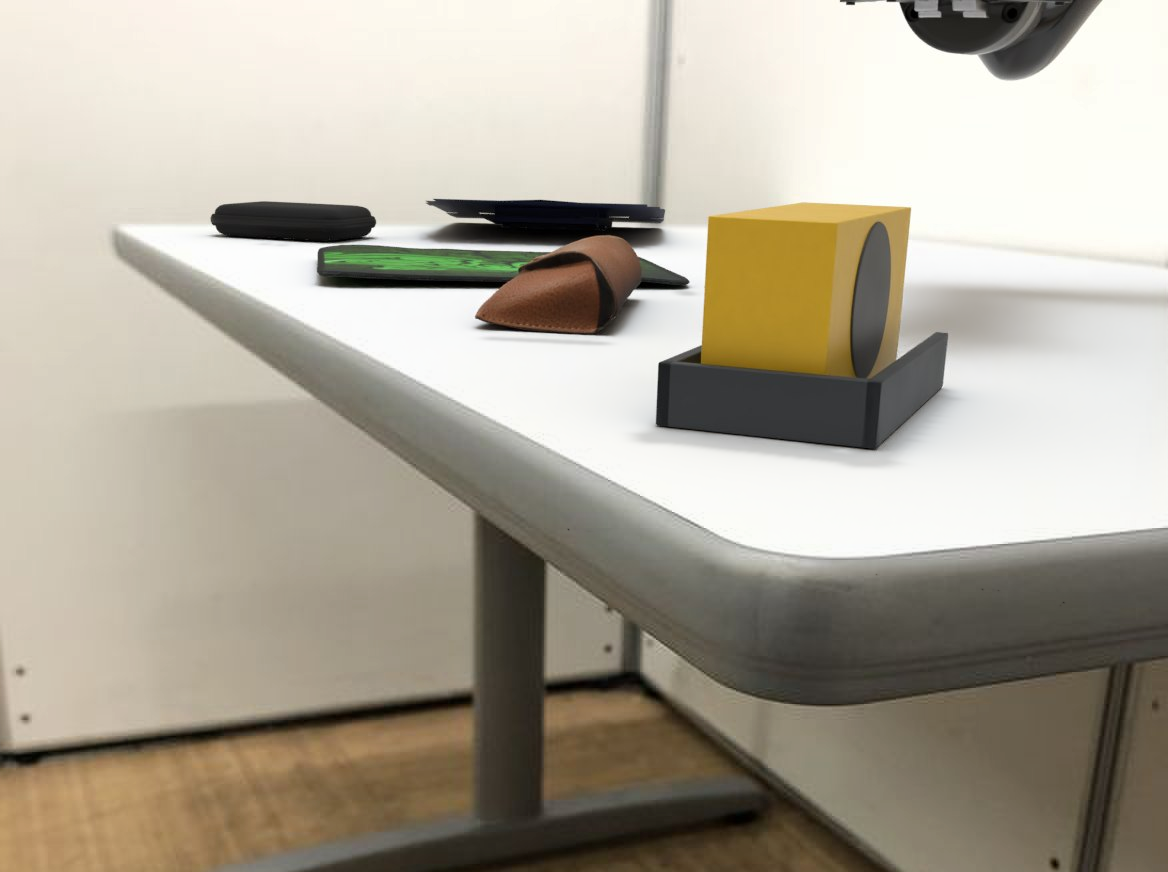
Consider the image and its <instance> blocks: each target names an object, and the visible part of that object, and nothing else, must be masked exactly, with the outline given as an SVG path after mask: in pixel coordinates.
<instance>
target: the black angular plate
mask: <svg viewBox="0 0 1168 872" xmlns="http://www.w3.org/2000/svg"><path fill="white" fill-rule="evenodd" d="M425 204H427V205H428V206H430V207H432V206H433V207H435V208H436V209H438V210H440V211H443V212H445V213H446V214H447V215H449V216H450V217H453V218H455V219H484V220H486V221H488V222H490V223H493V224H495V225H501V228H505V229H530V230H531V229H533V230H535V229H538V230H539V229H540V230H570V231H571V230H573V231H577V230H578V231H602V232H603V231H607V228H613V223H631V224H633V223H634V224H635V223H636V224H661V223H663V222H664V220H665V213H666V209H665V208H661V207H660V206H648V204H645V203H644V204H642V203H641V204H640V203H607V202H606V203H603V202H576V201H563V200H553V199H552V200H551V199H550V200H549V199H514V200H513V199H511V200H509V199H508V200H497V199H496V200H493V199H458V198H457V199H454V198H432V200H425ZM571 239H573V236H572V237H571Z"/></svg>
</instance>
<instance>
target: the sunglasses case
mask: <svg viewBox="0 0 1168 872" xmlns="http://www.w3.org/2000/svg"><path fill="white" fill-rule="evenodd" d="M550 252H551V253H548V254H546V255H542V256H539V257H535V258H534V259H533V260H532V261H530V262H529V263H526V264H525V265H523V266H520V267H519V268H518V272H519V274H518V276H516V277H515V278H513V279H512V280H510V281H508V282H505V284H502V286H501V287H500V288H499V289H497V290H496V291H495V292H494V293H493V294H492V295H491V296H490V297H488V299H487V300H485V302H483V303H482V304H481V306H480V307H479V308H478V309H477V311H476V314H475V315H474V319H475V320H479V321H482V322H483V323H487V324H490V325H491V324H492V325H496V326H503V327H508V328H512V329H517V330H523V331H524V330H525V331H529V332H530V331H531V332H540V333H541V332H543V333H544V332H545V333H563V334H564V333H566V334H578V335H579V334H581V335H582V334H588V335H594V334H596V333H599V332H600V331H602V330H604V329H606V328H607V327H608V326H609V325H610V324H611V323H612V321H613V320H615V319H617V318H618V317H619V315H620V314H621V311H622V308H623V307H624V305H625V304H626V302H627V300H628V298H629V297H630V296H631V295H632V293H633V292H634V291H635V290H636V289H637V287H639V286H640V284H641V283H642V282H641V276H642V268H641V265H640V261H639V258H638V257H639V256H638V255H637V253H636V252H635V249H634V248H633V247H632V245H631V244H629V242H628V241H627V240H625V239H624V238H622V237H620V236H616V235H611V234H605V235H604V234H602V235H593V236H588V237H584V238H581V239H579V240H575V241H573V242H570V243H567V244H565V245H563V246H561V247H558V248H556V249H555V250H553V251H550ZM637 256H638V257H637Z"/></svg>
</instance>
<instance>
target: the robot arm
mask: <svg viewBox="0 0 1168 872" xmlns="http://www.w3.org/2000/svg"><path fill="white" fill-rule="evenodd" d="M876 2H886V3H899V6H900V9H901V12H902V15H903V17H904V19H905V21H906V23H907V25H908V27H909V28H910V29H911V31H912V32H913V34H914V35H916V37H917V38H918V39H920V41H922V42H923V43H924V44H926V45H927V46H929V47H930V48H933V49H935V50H937V51H940V52H944V53H948V54H955V55H956V54H957V55H969V56H977V57H978V58H979V60H980V61H981V63H982V64H983V65H984V67H985V68H986V70H987V71H988V72H989V73H990V74H991V75H992V76H993V77H994V78H996V79H999V80H1001V81H1005V82H1006V81H1011V82H1012V81H1020V80H1024V79H1028V78H1030V77H1033V76H1034V75H1037V74H1038V73H1040V72H1042V71H1043V70H1045V69H1046V68H1047V67H1048V66H1050V64H1052V62H1054V61H1055V60H1056V59H1057V58H1058V56H1059V55H1060V54H1061V53H1062V52H1063V51H1064V49H1065V48H1066V47H1067V46H1068V45H1069V43H1070V42H1071V41H1072V39H1073V38H1074V37H1075V35H1076V34H1077V33H1078V32H1079V31H1080V29H1081V28H1082V27H1083V25H1084V24H1085V23H1086V22H1087V20H1088V19H1089V17H1090V16H1091V15H1092V13H1093V12H1094V11H1095V10H1096V9H1097V8H1098V7H1099V5H1100V4H1101V3H1102V2H1103V0H839V3H845V5H846V6H856V3H876Z"/></svg>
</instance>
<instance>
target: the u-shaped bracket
mask: <svg viewBox="0 0 1168 872" xmlns="http://www.w3.org/2000/svg"><path fill="white" fill-rule="evenodd" d="M948 342H949V333H948V332H942V331H941V332H940V331H936V332H934V333H933V334H932V335H930V336H929V337H927V338H925V339H924V340H923V341H921V342H920V343H918V344H917V345H915V346H914V347H912V349H910V350H909V351H907V352H906V353H904V354H903V355H901V356H899V358H897V360H896V361H894V362H893V363H892V364H890V365H889V366H887V367H886V368H885V369H883V370H882V371H880V372H879V373H877V374H876V375H875V376H873V377H872V378H870V379H865V378H854V377H843V376H832V375H821V374H810V373H799V372H787V371H776V370H765V369H754V368H743V367H732V366H721V365H710V364H701V349H702V344H700V345H699V346H696V347H694V348H690V349H689V350H686V351H683V352H681V353H678V354H677V355H674V356H672V357H669V358H666V359H664V360H662V361H659V362H658V366H657V385H656V388H657V389H656V407H655V408H656V409H655V426H659V427H668V428H675V429H676V428H677V429H678V428H679V429H686V430H695V431H703V432H714V433H715V432H716V433H723V434H733V435H742V436H752V437H758V438H759V437H760V438H769V439H779V440H789V441H796V442H797V441H798V442H805V443H806V442H807V443H816V444H824V445H825V444H826V445H833V446H843V447H844V446H845V447H851V448H863V449H872V450H876V449H877V448H878V447H879V446H880V445H881V444H882V443H883V442H884V441H885V440H886V439H888V438H889V436H891V434H893V433H894V432H895V431H896V430H897V429H898V428H899V427H900V426H901V425H902V424H904V423H905V422H906V421H907V420H908V419H909V418H910V417H911V416H912V415H913V414H914V413H915V412H917V410H919V409H920V408H921V407H922V406H923V405H924V404H925V403H927V402H928V400H930V398H932V397H933V396H934V395H936V393H937V392H939V390H941V389H942V387H943V386H944V378H945V370H946V369H945V368H946V361H947V349H948Z"/></svg>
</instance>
